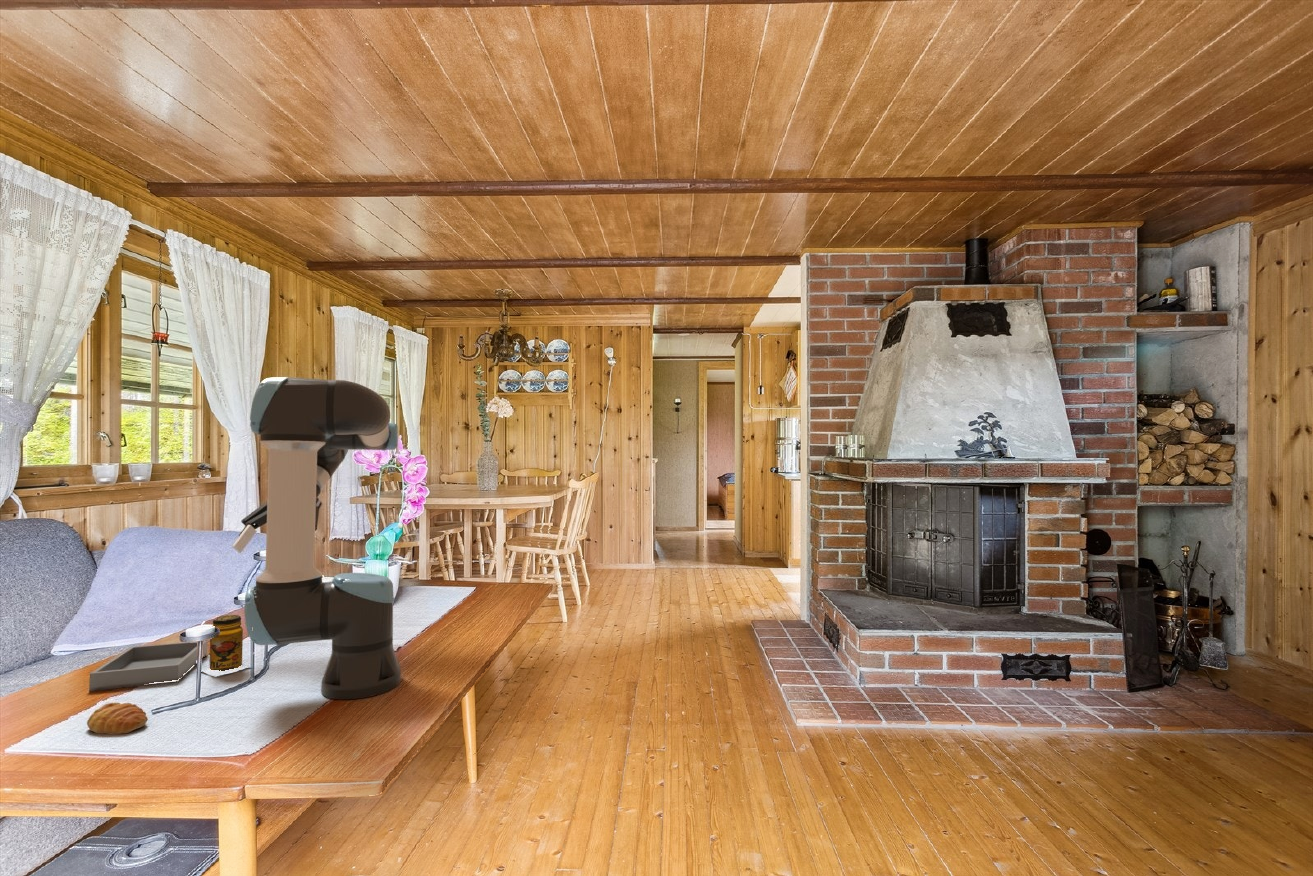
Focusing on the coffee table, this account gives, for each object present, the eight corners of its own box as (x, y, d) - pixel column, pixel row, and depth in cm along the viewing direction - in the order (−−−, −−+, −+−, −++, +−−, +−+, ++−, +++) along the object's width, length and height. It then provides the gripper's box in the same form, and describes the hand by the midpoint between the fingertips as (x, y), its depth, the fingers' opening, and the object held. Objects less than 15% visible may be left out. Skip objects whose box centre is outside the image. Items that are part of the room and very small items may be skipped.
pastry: (159, 724, 110) (160, 702, 110) (117, 740, 104) (117, 718, 104) (124, 717, 113) (124, 696, 113) (80, 733, 106) (81, 711, 107)
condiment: (216, 678, 132) (218, 623, 133) (196, 671, 136) (198, 618, 137) (251, 668, 139) (253, 615, 139) (231, 662, 143) (233, 611, 143)
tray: (177, 682, 130) (178, 665, 130) (89, 691, 125) (89, 673, 125) (207, 655, 148) (207, 640, 148) (130, 662, 142) (130, 646, 142)
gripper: (355, 495, 162) (313, 562, 148) (274, 492, 167) (226, 557, 152) (342, 476, 157) (297, 544, 142) (259, 474, 162) (207, 539, 147)
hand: (260, 551), depth 147 cm, fingers open, 13 cm apart
